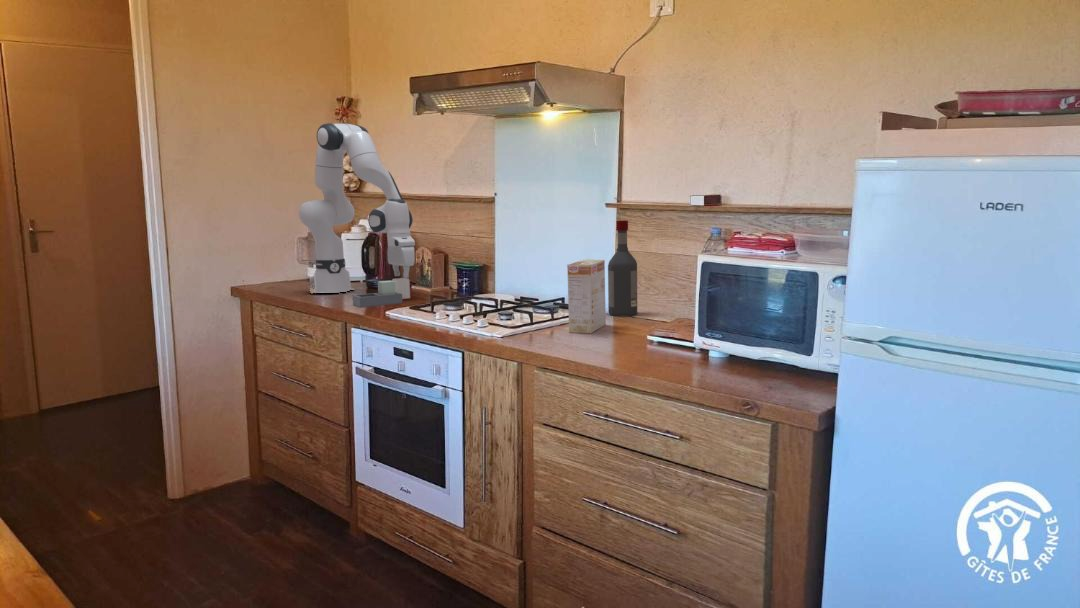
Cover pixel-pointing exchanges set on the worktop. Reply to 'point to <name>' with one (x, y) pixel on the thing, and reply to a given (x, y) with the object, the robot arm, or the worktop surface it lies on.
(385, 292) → the sage plug
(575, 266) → the coffeecake box
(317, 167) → the robot arm
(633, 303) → the liquor
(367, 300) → the slot rack
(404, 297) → the ivory plug
